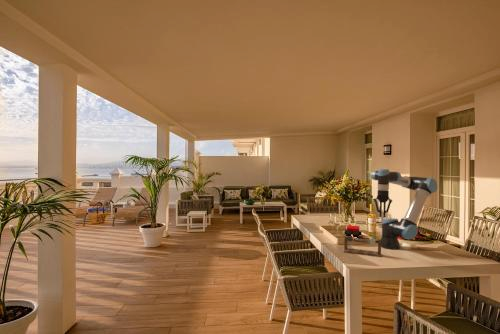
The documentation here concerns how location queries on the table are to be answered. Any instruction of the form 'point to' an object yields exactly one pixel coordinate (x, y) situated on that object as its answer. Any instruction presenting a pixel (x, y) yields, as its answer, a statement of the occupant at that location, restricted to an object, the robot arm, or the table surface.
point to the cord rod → (358, 239)
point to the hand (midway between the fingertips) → (382, 221)
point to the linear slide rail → (362, 252)
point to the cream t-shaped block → (372, 239)
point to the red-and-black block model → (353, 231)
